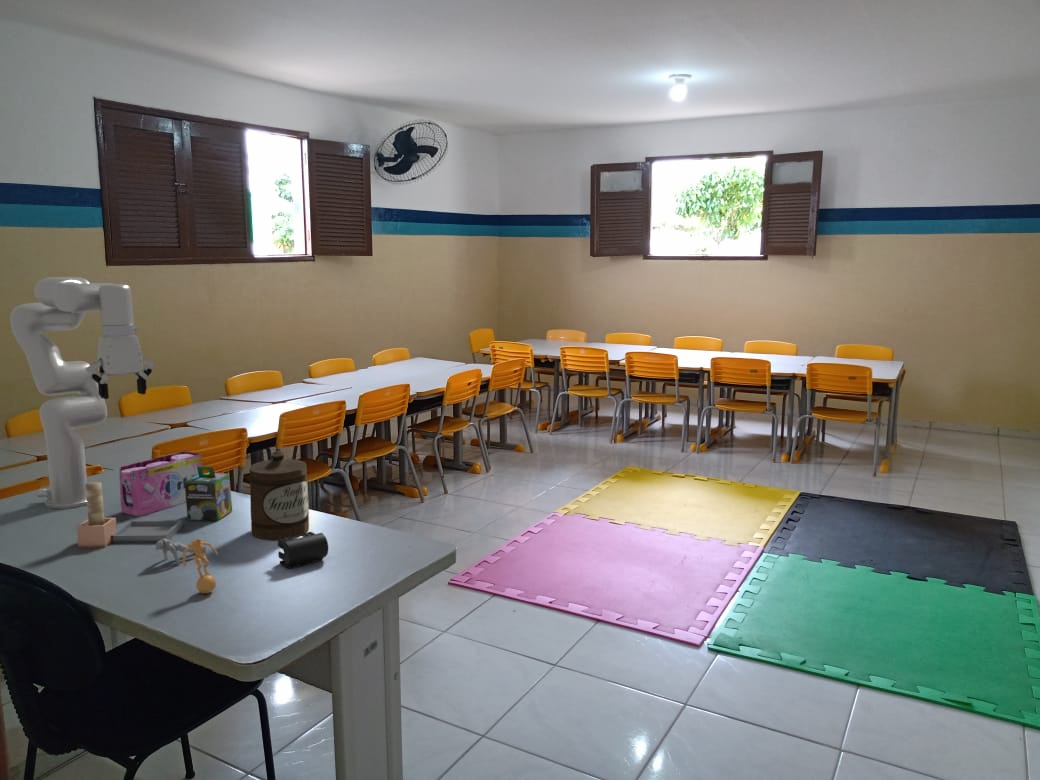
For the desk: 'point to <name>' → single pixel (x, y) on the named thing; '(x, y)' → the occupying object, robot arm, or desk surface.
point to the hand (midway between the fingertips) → (123, 396)
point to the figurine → (205, 581)
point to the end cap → (302, 549)
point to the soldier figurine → (174, 548)
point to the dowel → (95, 503)
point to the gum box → (156, 482)
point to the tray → (147, 530)
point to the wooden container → (279, 498)
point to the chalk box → (208, 495)
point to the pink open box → (96, 533)
